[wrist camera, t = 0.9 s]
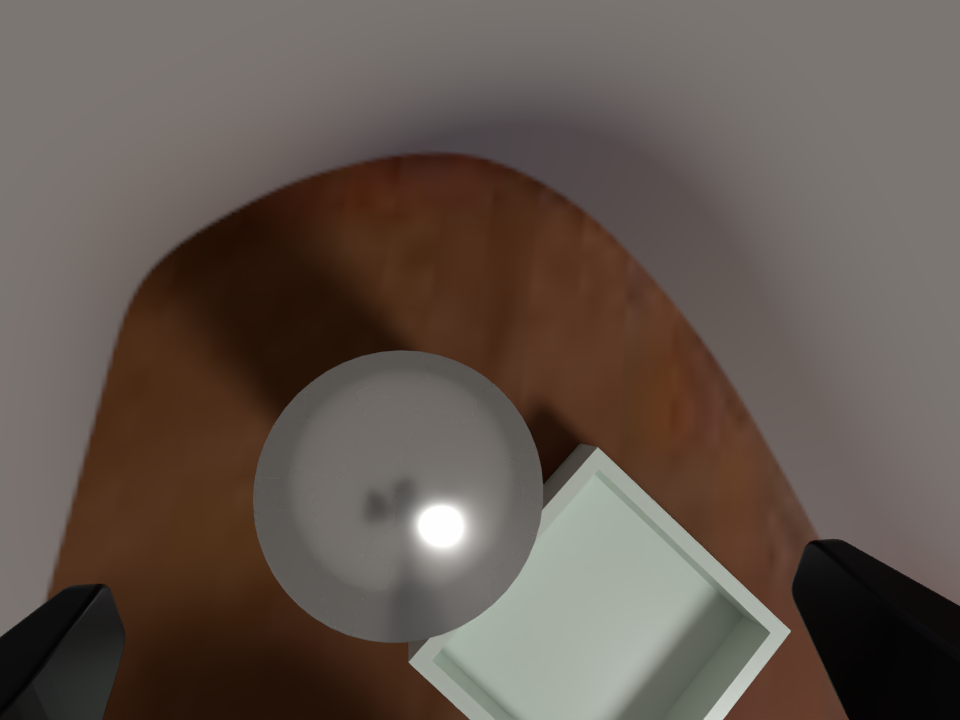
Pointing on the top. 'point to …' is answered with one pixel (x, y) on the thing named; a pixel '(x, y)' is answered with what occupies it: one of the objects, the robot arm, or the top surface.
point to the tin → (398, 496)
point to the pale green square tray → (606, 617)
